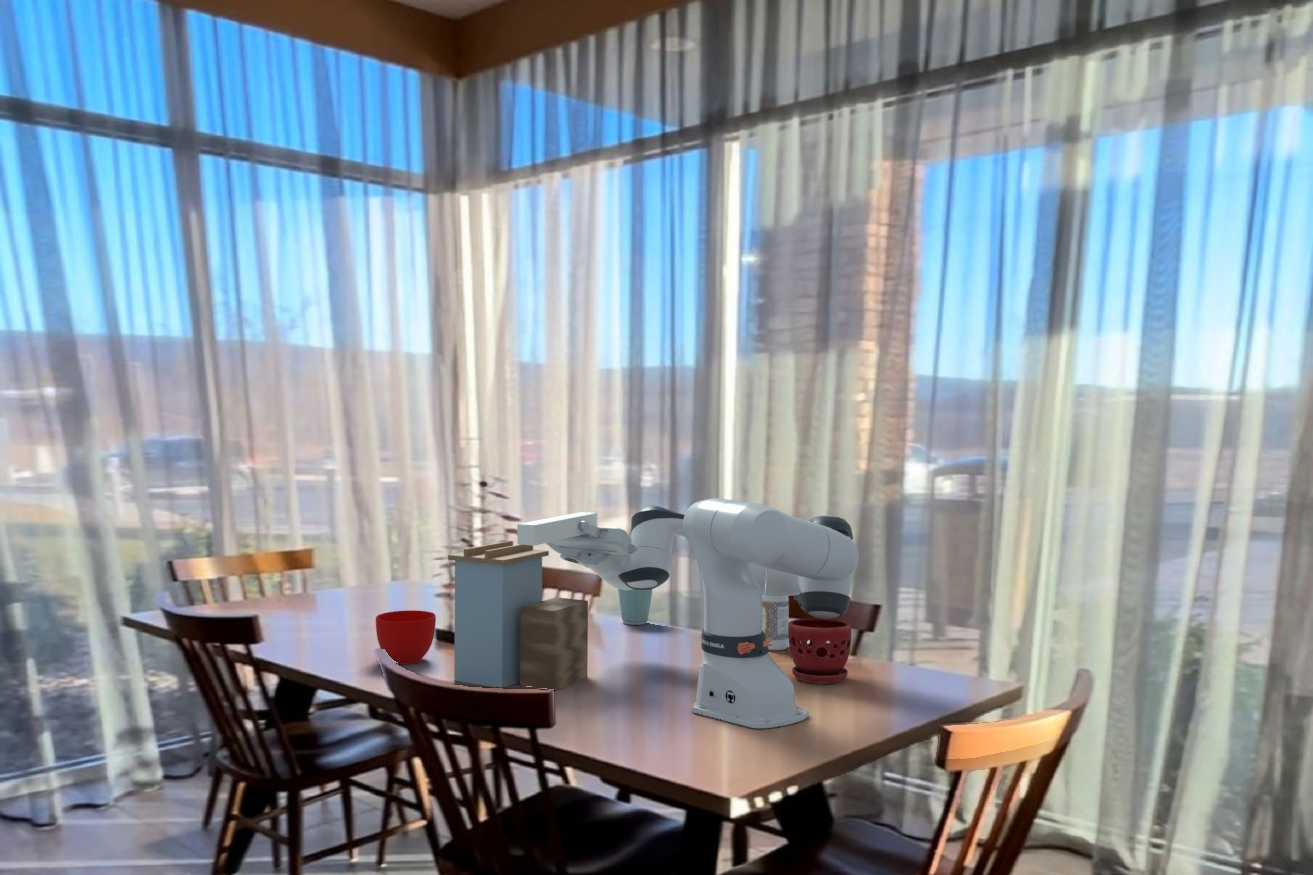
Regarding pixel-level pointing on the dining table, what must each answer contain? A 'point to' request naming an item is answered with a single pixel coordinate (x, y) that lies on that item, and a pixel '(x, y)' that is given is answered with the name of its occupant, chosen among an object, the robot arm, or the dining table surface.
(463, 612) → the cabinet
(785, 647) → the bath foam
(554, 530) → the white beam
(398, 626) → the ceramic cup
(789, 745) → the dining table surface
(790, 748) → the dining table surface
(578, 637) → the walnut block
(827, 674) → the plant pot
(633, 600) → the disposable coffee cup
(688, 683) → the dining table surface
